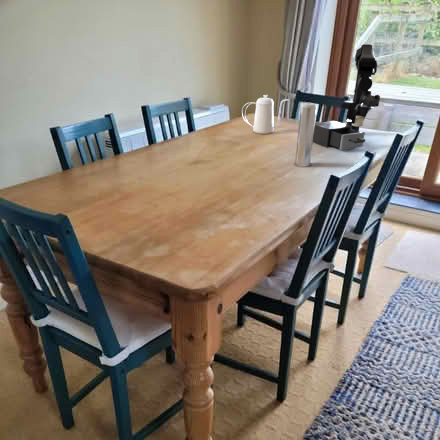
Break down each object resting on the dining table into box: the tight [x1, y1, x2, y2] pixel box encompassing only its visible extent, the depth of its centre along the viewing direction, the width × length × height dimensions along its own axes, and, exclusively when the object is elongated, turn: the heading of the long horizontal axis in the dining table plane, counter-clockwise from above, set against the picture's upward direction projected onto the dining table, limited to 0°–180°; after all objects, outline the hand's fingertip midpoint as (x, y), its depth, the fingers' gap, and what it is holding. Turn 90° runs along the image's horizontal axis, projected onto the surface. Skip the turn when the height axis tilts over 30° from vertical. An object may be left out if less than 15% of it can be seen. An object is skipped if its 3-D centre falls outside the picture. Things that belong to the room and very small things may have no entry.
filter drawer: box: [328, 128, 366, 151], centre depth 219 cm, size 17×13×7 cm
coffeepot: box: [241, 94, 290, 135], centre depth 242 cm, size 11×25×19 cm, turn 84°
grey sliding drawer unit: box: [313, 120, 352, 148], centre depth 228 cm, size 14×15×9 cm
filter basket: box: [352, 116, 365, 127], centre depth 217 cm, size 5×5×4 cm
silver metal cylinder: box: [294, 102, 317, 167], centre depth 192 cm, size 6×6×25 cm
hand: (357, 123), depth 218 cm, fingers closed on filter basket, 5 cm apart
